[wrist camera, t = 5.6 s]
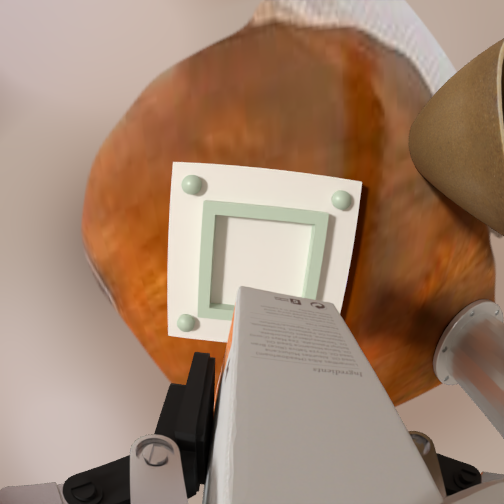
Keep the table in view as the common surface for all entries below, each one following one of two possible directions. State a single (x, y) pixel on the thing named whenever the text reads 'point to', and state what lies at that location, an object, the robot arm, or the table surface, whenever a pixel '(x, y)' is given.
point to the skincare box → (305, 414)
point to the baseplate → (254, 240)
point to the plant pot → (466, 138)
